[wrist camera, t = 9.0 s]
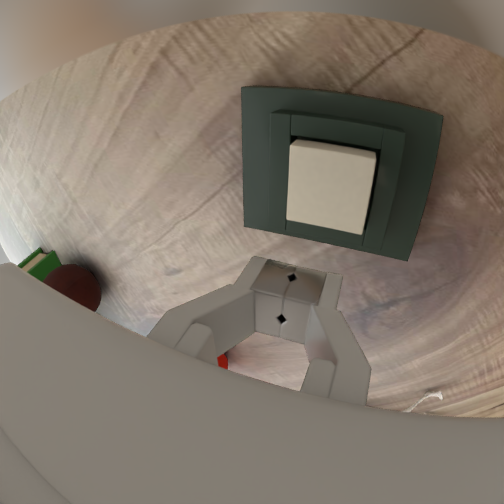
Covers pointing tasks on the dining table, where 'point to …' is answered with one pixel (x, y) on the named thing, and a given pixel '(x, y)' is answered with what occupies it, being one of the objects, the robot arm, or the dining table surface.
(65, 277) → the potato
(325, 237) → the stepped green tier
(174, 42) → the dining table surface
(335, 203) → the key
